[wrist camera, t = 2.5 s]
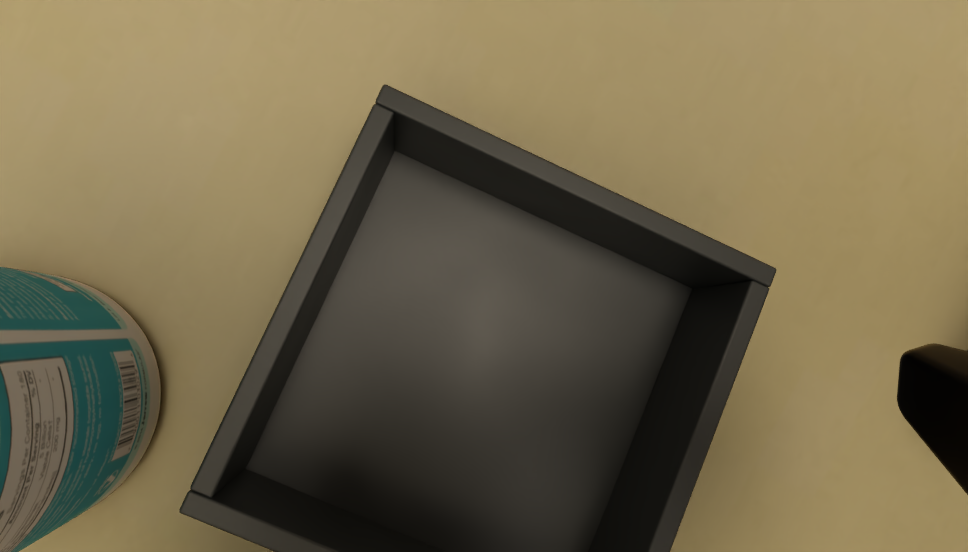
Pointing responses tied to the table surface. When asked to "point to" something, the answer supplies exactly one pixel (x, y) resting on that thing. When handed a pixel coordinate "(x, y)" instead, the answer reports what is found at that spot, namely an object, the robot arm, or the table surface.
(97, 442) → the pill bottle
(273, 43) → the table surface
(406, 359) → the dark gray square tray
